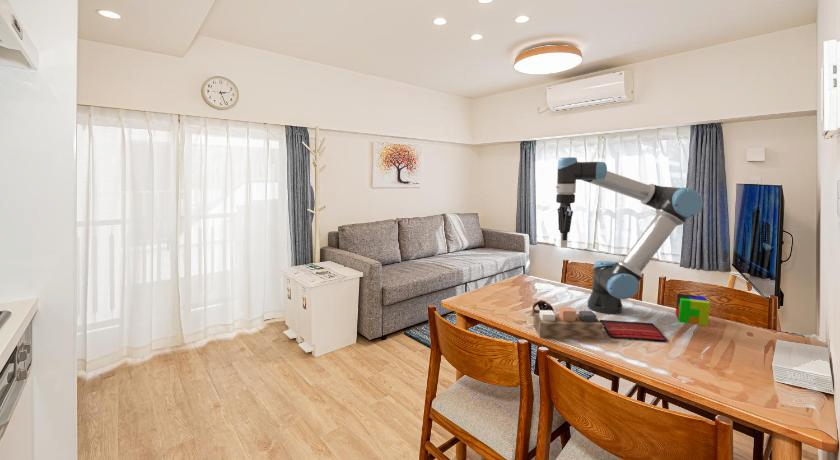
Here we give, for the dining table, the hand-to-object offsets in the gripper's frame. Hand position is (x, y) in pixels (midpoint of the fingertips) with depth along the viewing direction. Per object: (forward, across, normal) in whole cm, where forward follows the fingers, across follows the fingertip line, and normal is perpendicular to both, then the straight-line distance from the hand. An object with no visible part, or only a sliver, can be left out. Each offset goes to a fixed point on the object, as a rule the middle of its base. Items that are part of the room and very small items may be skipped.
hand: (563, 247), depth 168 cm
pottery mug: (+33, -2, -7) cm, 33 cm away
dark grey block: (+30, +18, +5) cm, 35 cm away
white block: (+30, +17, -11) cm, 36 cm away
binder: (+33, +16, +24) cm, 44 cm away
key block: (+32, +17, -3) cm, 37 cm away
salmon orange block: (+28, +17, -3) cm, 33 cm away
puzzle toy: (+33, +2, +57) cm, 65 cm away
